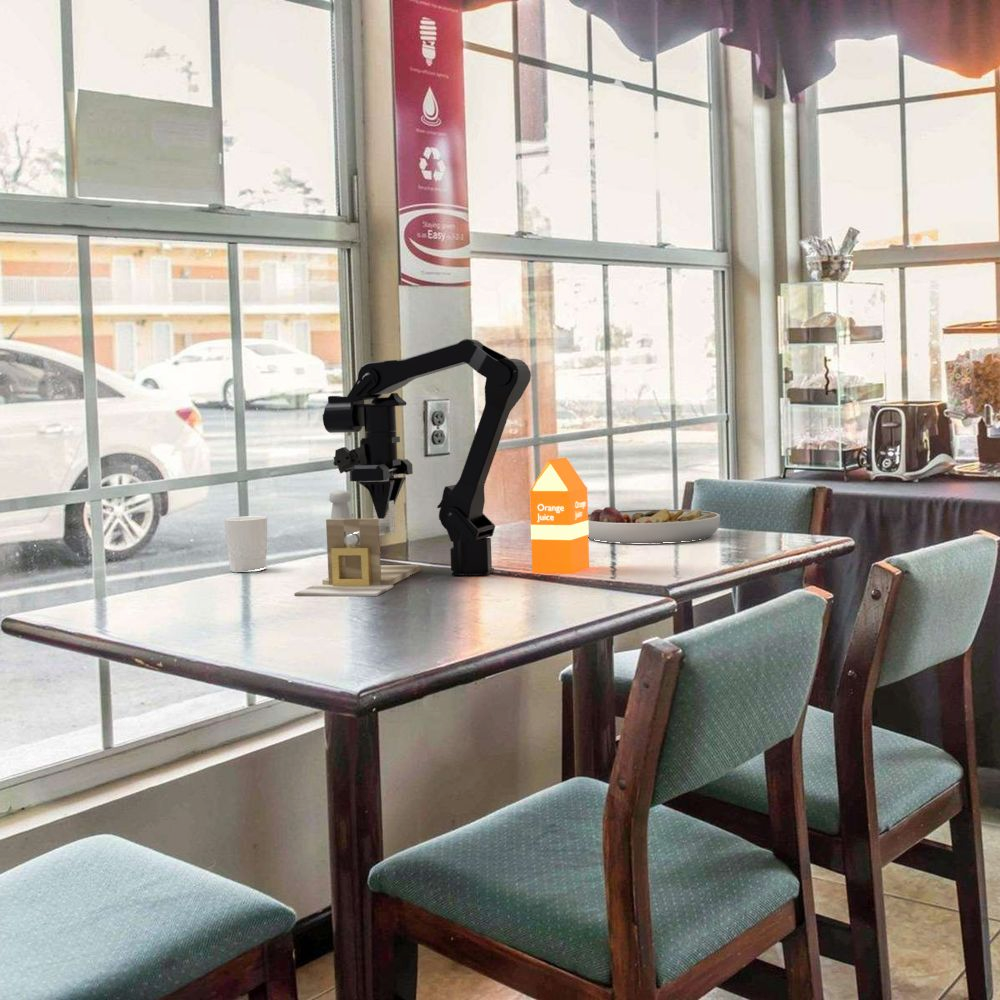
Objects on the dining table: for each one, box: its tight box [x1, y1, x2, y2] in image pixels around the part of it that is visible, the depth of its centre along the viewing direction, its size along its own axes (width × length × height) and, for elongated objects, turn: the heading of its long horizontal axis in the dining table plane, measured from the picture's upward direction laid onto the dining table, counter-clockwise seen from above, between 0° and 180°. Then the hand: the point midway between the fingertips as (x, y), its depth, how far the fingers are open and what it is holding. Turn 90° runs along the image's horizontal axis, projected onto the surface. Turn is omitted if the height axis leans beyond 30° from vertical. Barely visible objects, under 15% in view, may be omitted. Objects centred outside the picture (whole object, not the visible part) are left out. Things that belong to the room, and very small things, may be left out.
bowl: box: [588, 506, 721, 543], centre depth 277 cm, size 30×30×8 cm
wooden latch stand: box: [293, 518, 421, 597], centre depth 222 cm, size 29×14×12 cm, turn 168°
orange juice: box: [529, 456, 590, 575], centre depth 230 cm, size 8×9×20 cm
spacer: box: [331, 547, 372, 586], centre depth 217 cm, size 2×6×6 cm, turn 78°
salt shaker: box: [328, 489, 355, 547], centre depth 265 cm, size 6×6×13 cm
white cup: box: [224, 515, 268, 574], centre depth 243 cm, size 8×8×10 cm
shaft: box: [344, 500, 396, 547], centre depth 226 cm, size 21×3×6 cm, turn 168°
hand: (384, 517), depth 235 cm, fingers closed on shaft, 3 cm apart
